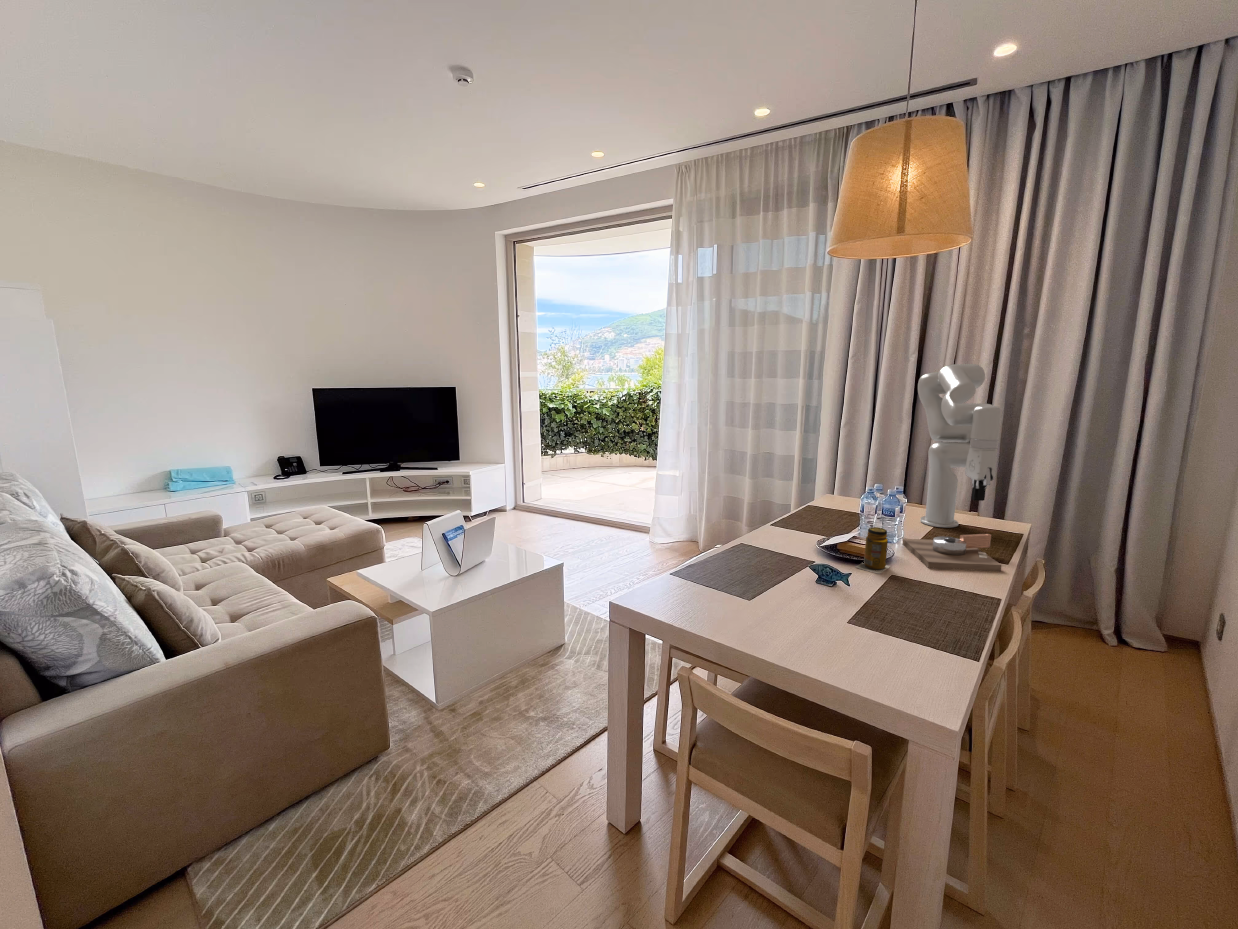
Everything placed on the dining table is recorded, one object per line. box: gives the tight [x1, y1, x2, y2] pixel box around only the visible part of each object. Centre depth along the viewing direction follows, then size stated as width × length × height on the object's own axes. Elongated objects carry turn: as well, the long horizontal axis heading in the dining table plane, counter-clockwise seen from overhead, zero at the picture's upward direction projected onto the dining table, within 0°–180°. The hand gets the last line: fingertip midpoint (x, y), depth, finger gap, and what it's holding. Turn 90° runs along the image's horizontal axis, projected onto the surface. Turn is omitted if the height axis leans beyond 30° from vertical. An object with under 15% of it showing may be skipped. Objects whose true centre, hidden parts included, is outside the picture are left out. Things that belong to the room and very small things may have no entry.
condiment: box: [855, 526, 891, 575], centre depth 162 cm, size 7×8×12 cm
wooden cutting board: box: [902, 538, 1003, 572], centre depth 170 cm, size 22×20×2 cm
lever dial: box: [932, 533, 992, 555], centre depth 170 cm, size 18×9×4 cm, turn 95°
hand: (977, 499), depth 174 cm, fingers closed
